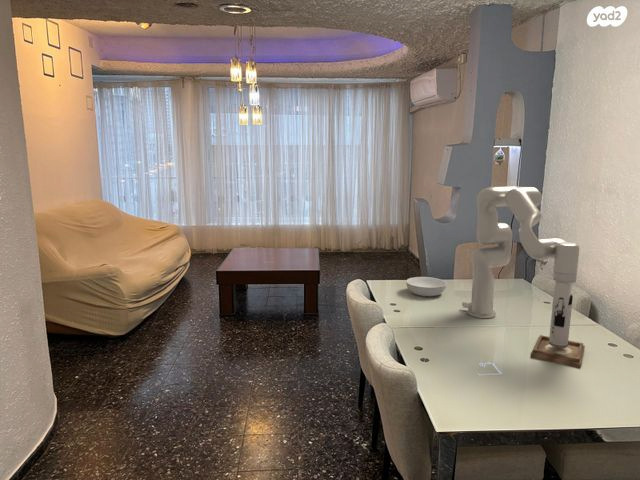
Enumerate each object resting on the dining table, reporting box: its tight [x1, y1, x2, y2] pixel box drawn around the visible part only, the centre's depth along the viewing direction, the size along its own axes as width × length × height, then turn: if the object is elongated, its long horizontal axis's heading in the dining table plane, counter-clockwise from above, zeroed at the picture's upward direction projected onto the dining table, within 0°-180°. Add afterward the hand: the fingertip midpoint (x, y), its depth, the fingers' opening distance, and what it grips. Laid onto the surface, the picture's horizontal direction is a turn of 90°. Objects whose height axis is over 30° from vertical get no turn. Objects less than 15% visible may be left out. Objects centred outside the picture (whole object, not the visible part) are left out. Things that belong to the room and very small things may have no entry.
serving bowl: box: [405, 276, 448, 297], centre depth 244 cm, size 21×21×7 cm
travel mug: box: [548, 294, 574, 348], centre depth 170 cm, size 6×7×20 cm
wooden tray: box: [530, 334, 586, 369], centre depth 172 cm, size 16×18×3 cm
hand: (560, 322), depth 170 cm, fingers closed on travel mug, 6 cm apart
